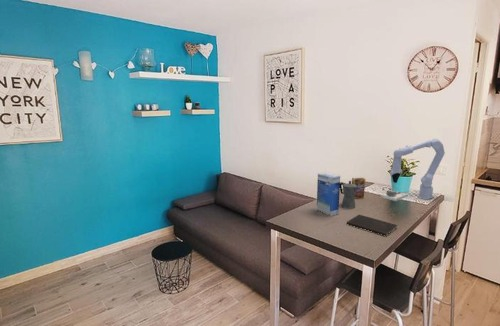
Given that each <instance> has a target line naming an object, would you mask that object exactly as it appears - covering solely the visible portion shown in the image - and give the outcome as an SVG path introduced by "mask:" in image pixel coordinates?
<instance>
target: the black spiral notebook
mask: <svg viewBox="0 0 500 326" xmlns="http://www.w3.org/2000/svg"><path fill="white" fill-rule="evenodd" d="M347 224H349V225H348V226H350V225H352V226H351V227H353V226H355V227H354V228H356V227H358V228H357V229H359V228H362V229H366V230H369V231H372V232H375V233H379V234H382V235H385V236H386V235H387V234H388V233H390V232H391V231H392V230H393V229H395V228H396V227H398V226H399V225H398V224H394V223H393V222H388V221H384V220H380V219H377V218H374V217H370V216H366V215H362V214H358V215H355V216H354V217H353V218H351V219H349V220H348V221H346V225H347ZM362 229H361V230H362ZM396 229H397V228H396ZM396 229H395V230H396ZM366 230H365V231H366ZM369 231H368V232H369ZM393 231H394V230H393ZM393 231H392V232H393ZM372 232H371V233H372ZM392 232H391V233H392ZM375 233H374V234H375ZM391 233H390V234H391ZM385 236H384V237H385ZM387 236H388V235H387ZM387 236H386V237H387Z"/></svg>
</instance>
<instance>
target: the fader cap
mask: <svg viewBox="0 0 500 326" xmlns="http://www.w3.org/2000/svg"><path fill="white" fill-rule="evenodd" d="M396 191H397V190H392V189H388V190H386V193H387V195H388V196H392V197H394V196H396Z"/></svg>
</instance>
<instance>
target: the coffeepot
mask: <svg viewBox="0 0 500 326" xmlns="http://www.w3.org/2000/svg"><path fill="white" fill-rule="evenodd" d="M357 189H358V187H357V185H355V184H352V180H349V181H348V183H346V182H343V181H340V194H342V195H344V196H343V198H342V203H341V206H342V207H343V208H346V209H354V208H356V198H354V195H355V192H356V190H357Z"/></svg>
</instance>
